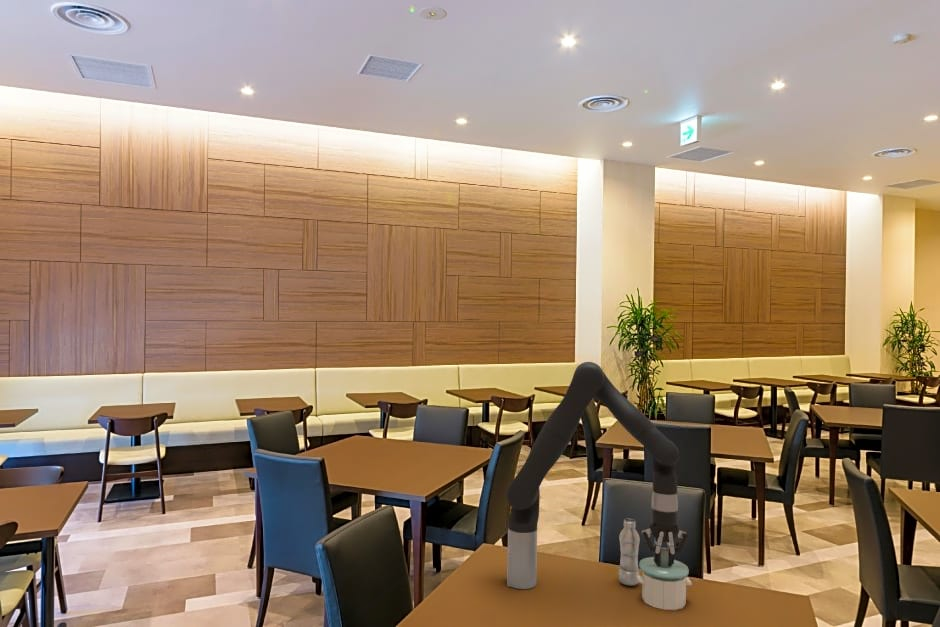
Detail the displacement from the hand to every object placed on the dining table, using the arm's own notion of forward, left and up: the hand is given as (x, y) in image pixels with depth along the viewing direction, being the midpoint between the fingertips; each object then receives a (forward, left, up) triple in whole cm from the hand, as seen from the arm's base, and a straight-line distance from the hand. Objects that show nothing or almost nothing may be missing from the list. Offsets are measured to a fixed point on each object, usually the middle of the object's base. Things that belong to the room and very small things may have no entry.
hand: (663, 564), depth 182 cm
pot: (0, 0, -11) cm, 11 cm away
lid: (0, 0, -1) cm, 1 cm away
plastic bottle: (-8, +11, -11) cm, 17 cm away
